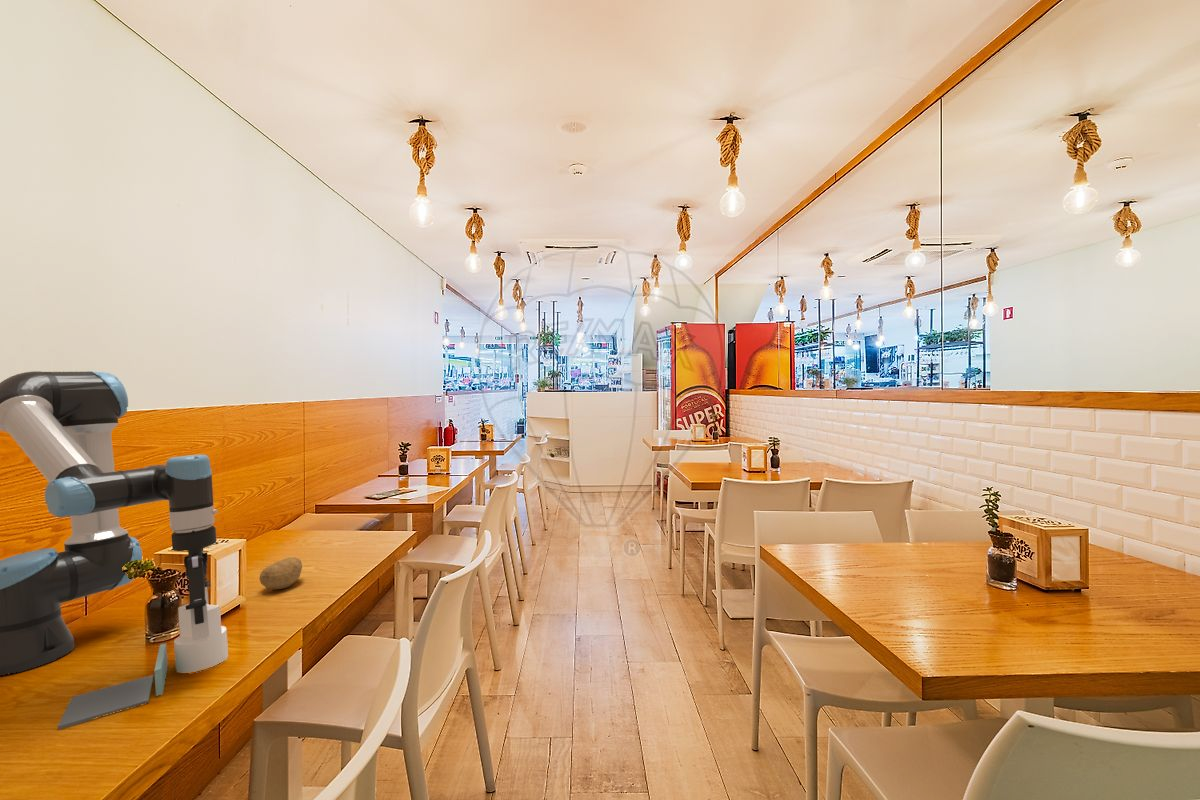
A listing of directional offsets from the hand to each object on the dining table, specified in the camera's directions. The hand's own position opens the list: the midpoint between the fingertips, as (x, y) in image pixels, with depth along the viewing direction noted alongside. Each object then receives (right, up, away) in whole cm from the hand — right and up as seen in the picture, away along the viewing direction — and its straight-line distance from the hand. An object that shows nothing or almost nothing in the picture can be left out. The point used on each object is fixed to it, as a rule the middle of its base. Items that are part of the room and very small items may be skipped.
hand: (201, 628), depth 115 cm
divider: (-3, -8, -7) cm, 11 cm away
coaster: (-7, -8, -14) cm, 17 cm away
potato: (-10, -7, +46) cm, 48 cm away
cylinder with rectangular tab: (0, -8, 0) cm, 8 cm away
